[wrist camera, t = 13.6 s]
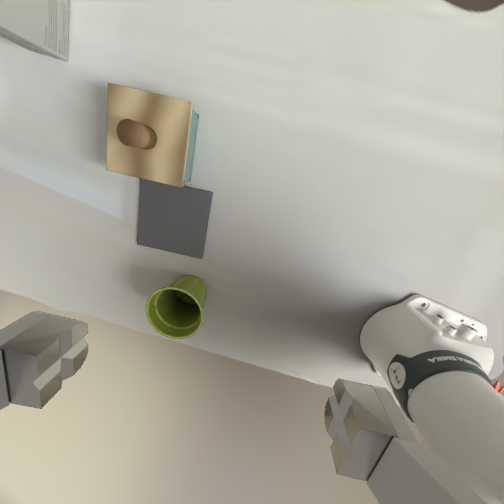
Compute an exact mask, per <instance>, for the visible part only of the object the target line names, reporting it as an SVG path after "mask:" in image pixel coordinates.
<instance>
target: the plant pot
mask: <svg viewBox="0 0 504 504" xmlns="http://www.w3.org/2000/svg"><path fill="white" fill-rule="evenodd" d="M205 296H206V288H205V285H204V283H203V282H202V281H201V280H200V279H199V278H197V277H195V276H184V277H182V278H180V279H179V280H177V281H176V282H174V283H173V284H172V285H170V286H169V287H164V288H161V289H159V290H157V291H155V292H154V293H153V294H152V295H151V296H150V297H149V299H148V301H147V305H146V314H147V318H148V320H149V322H150V324H151V325H152V327H153V328H154V329H155V330H156V331H158V332H159V333H160V334H162V335H164V336H166V337H169V338H174V339H183V338H187V337H190V336H192V335H194V334H195V333H196V332H197V331H198V330H199V329H200V327H201V325H202V322H203V310H202V308H203V304H204V300H205ZM184 298H186V299H187V300H191V301H187V300H185V299H184Z"/></svg>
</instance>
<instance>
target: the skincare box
mask: <svg viewBox="0 0 504 504" xmlns="http://www.w3.org/2000/svg"><path fill="white" fill-rule="evenodd" d="M0 35H1V36H3V37H5V38H7V39H9V40H11V41H13V42H15V43H17V44H19V45H21V46H23V47H25V48H27V49H29V50H32V51H35V52H38V53H42V54H45V55H48V56H51V57H55V58H58V59H61V60H65V61H68V35H69V0H0Z"/></svg>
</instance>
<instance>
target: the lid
mask: <svg viewBox="0 0 504 504" xmlns="http://www.w3.org/2000/svg"><path fill="white" fill-rule="evenodd" d="M192 109H193V103H192V102H189V101H185V100H181V99H177V98H172V97H168V96H164V95H159V94H155V93H151V92H146V91H142V90H138V89H133V88H129V87H125V86H120V85H116V84H112V83H108V106H107V159H106V170H107V171H112V172H116V173H121V174H125V175H129V176H134V177H138V178H142V179H147V180H151V181H155V182H160V183H164V184H169V185H173V186H177V187H183V184H184V176H185V168H186V159H187V151H188V143H189V134H190V126H191V118H192Z"/></svg>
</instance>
